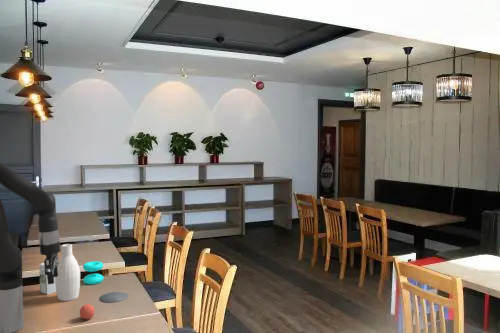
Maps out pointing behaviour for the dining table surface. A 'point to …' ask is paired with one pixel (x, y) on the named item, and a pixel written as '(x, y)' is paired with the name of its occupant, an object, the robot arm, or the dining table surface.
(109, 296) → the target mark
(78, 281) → the bottle
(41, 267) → the syrup box
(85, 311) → the ball
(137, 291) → the dining table surface
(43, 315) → the dining table surface
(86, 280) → the donuts
